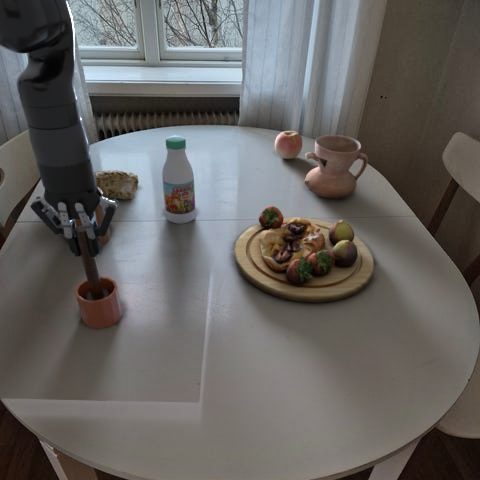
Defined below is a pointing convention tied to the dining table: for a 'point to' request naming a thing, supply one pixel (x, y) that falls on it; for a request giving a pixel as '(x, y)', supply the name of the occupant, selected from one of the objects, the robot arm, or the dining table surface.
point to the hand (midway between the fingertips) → (87, 253)
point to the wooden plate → (303, 258)
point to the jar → (99, 221)
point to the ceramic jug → (334, 166)
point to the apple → (288, 144)
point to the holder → (99, 304)
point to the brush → (90, 266)
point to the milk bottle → (178, 182)
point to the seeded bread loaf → (116, 184)
